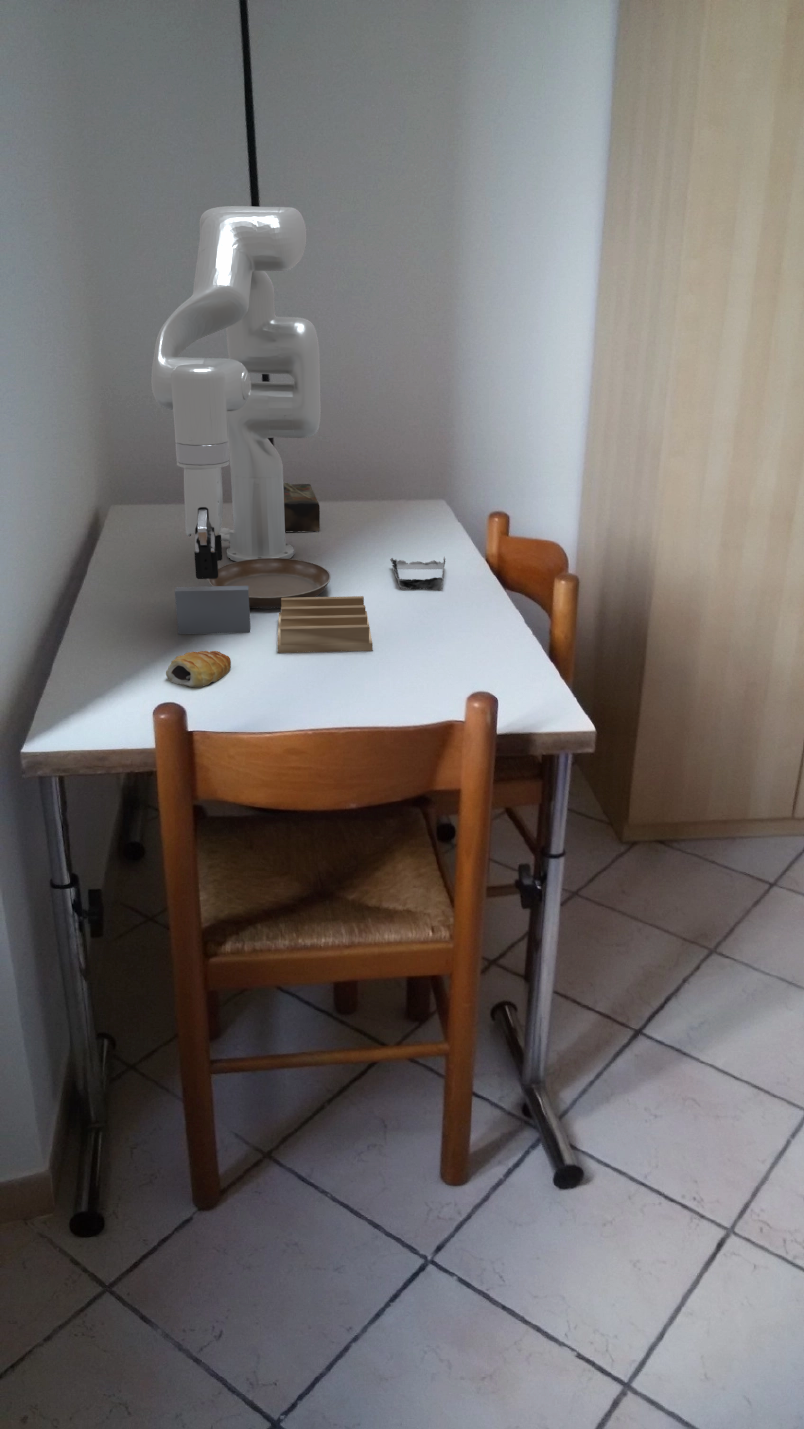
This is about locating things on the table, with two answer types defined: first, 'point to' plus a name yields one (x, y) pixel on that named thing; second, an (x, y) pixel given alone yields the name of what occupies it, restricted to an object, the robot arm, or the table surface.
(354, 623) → the board rack
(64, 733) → the table surface
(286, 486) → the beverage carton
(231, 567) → the plant saucer
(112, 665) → the table surface
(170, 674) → the pastry
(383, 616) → the table surface
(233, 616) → the slate board
